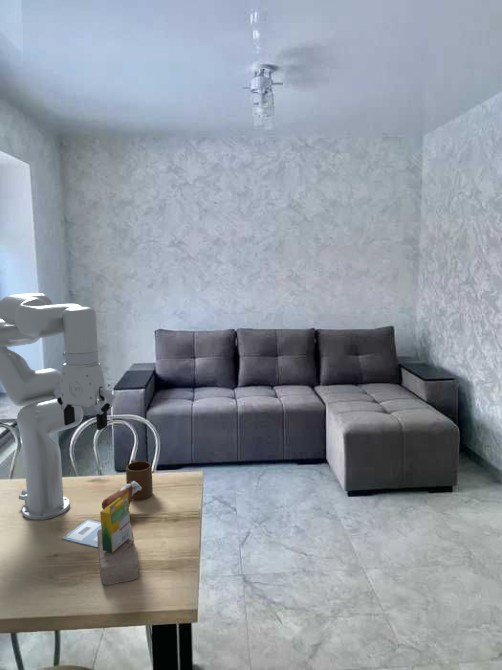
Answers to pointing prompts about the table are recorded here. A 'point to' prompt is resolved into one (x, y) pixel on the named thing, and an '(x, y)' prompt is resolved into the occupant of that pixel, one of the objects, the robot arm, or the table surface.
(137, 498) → the mug
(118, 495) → the bull figurine
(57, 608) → the table surface
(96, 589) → the table surface
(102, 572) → the brick
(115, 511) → the crayon box
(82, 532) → the plan sheet
